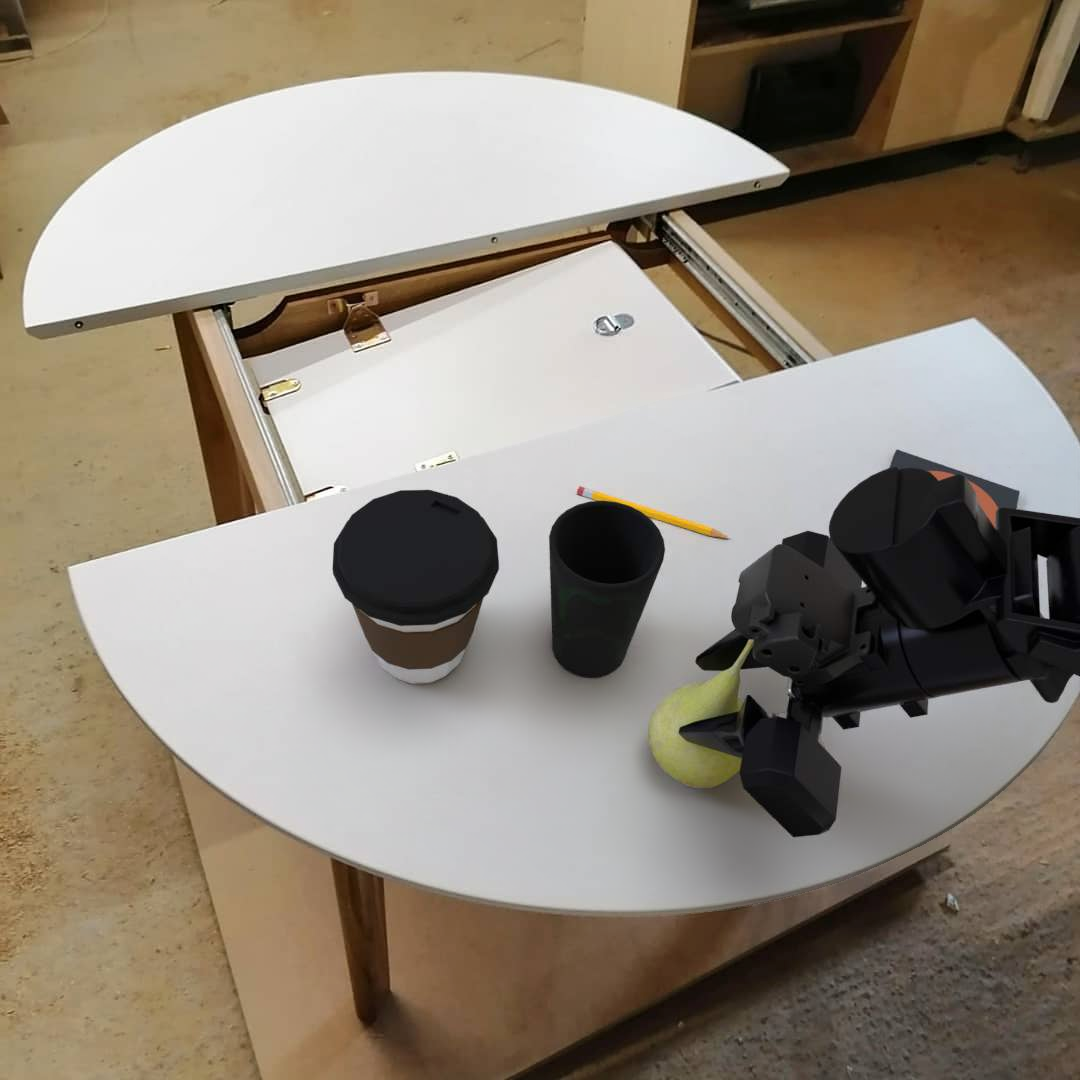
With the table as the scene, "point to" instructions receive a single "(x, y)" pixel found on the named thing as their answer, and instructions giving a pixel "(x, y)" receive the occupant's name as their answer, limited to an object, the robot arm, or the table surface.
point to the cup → (600, 583)
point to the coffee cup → (416, 579)
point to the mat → (986, 491)
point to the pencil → (654, 513)
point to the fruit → (690, 706)
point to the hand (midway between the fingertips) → (690, 698)
